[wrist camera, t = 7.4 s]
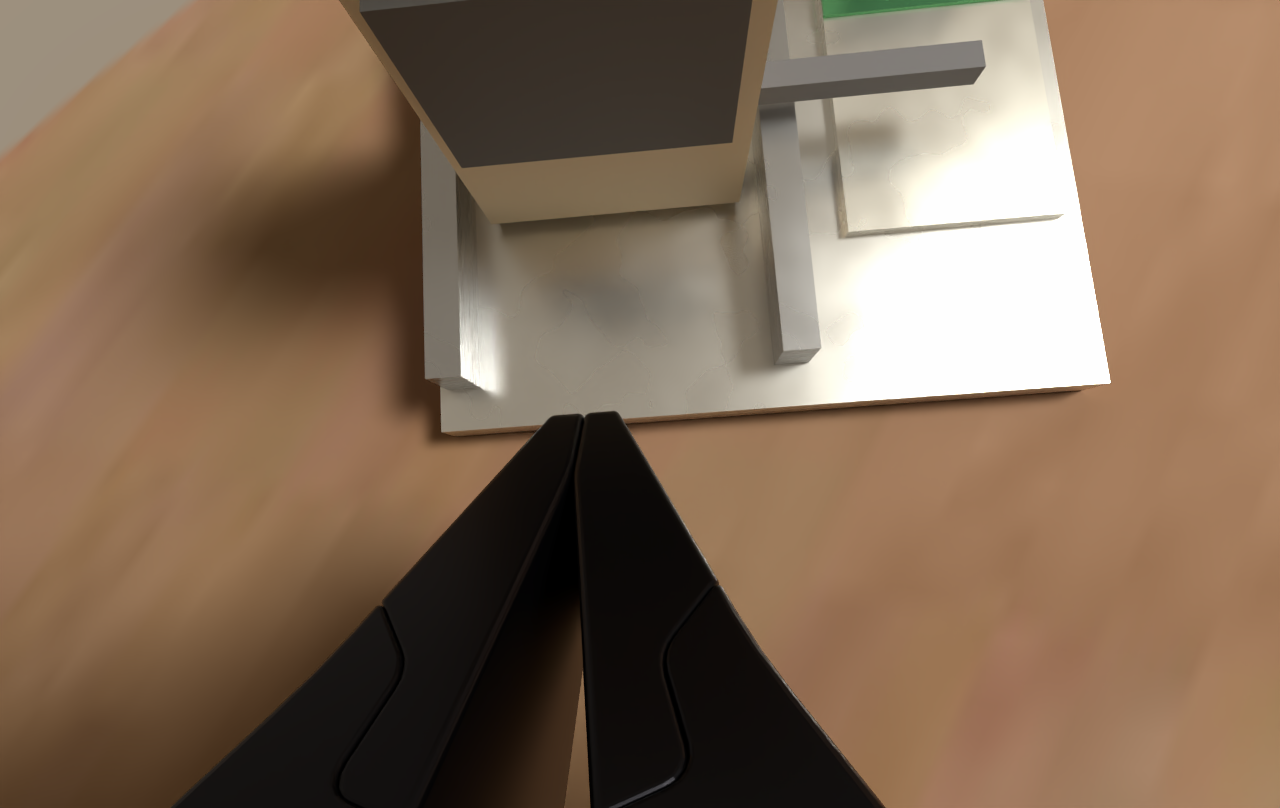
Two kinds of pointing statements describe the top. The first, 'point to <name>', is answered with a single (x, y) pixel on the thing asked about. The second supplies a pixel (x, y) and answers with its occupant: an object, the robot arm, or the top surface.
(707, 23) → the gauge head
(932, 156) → the gauge frame
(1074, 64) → the top surface
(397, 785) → the robot arm
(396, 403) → the top surface
